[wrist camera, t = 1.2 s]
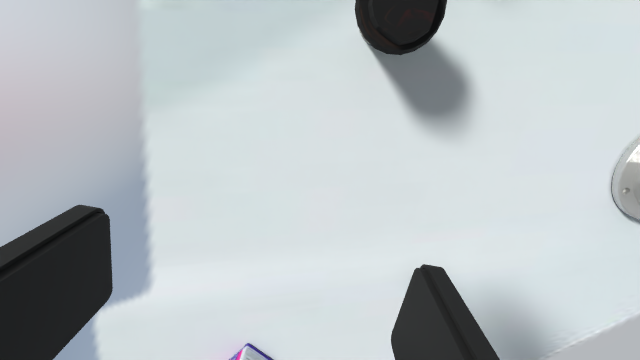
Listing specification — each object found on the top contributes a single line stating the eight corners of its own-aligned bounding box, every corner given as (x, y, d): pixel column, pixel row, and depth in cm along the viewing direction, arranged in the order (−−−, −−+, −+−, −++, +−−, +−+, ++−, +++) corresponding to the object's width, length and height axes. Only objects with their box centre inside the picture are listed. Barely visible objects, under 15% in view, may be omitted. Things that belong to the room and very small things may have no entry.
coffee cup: (336, 2, 31) (342, -30, 21) (403, -30, 30) (440, -78, 20) (360, 69, 33) (375, 69, 23) (423, 42, 32) (465, 29, 22)
